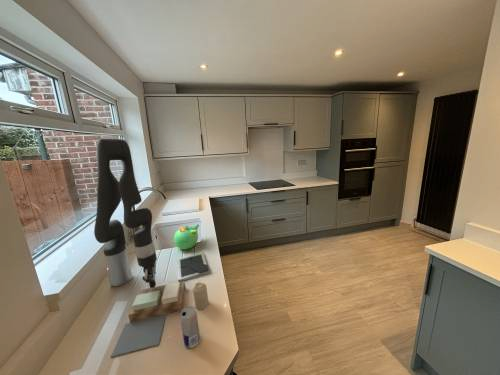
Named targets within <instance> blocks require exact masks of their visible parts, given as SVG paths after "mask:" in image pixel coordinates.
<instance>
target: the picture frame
mask: <svg viewBox="0 0 500 375" xmlns="http://www.w3.org/2000/svg"><path fill="white" fill-rule="evenodd" d="M176 262H177V263H176V264H177V267H176V268H177V269H176V270H177V282H182V281H185V282H186V281H188V280H191V279H196V278H198V277H201V276H206V275H208V274H210V270H209V266H208V264H207V260H206V257H205V253H204V252H201V253H197V254H193V255H189V256H185V257H182V258H177V259H176Z"/></svg>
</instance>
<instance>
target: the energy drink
mask: <svg viewBox="0 0 500 375" xmlns="http://www.w3.org/2000/svg"><path fill="white" fill-rule="evenodd" d="M179 321H180V322H179V323H180V327H181V331H182V337H183V342H184V346H185V348H186V349H195V348H196V347H197V346H198V345H199V344H200V342H201V334H200V327H199V322H198V315H197V311H196V307H192V306H187V307H184V308H183V310H182V311H180V312H179Z"/></svg>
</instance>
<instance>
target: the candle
mask: <svg viewBox="0 0 500 375" xmlns="http://www.w3.org/2000/svg"><path fill="white" fill-rule="evenodd" d="M207 288H208V287H207V284H206V283H204V282H197V283H196V284H195V285H193V287H192V293H193V298H194V299H193V300H194V305H195V309H197V310H199V311H201V310H205V309H206V308H207V307H208V305H209V296H208V289H207Z"/></svg>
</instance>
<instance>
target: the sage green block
mask: <svg viewBox="0 0 500 375" xmlns="http://www.w3.org/2000/svg"><path fill="white" fill-rule="evenodd" d="M136 296H137V297H135V298H134V301H133V303H132V305H131V307H133V311H135V310H140V309H144V308H149V307H153V306H157V305H158V302H159V298H160V290H159V291H154V292H150V293H145V294H140V295H137V294H136Z"/></svg>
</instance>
